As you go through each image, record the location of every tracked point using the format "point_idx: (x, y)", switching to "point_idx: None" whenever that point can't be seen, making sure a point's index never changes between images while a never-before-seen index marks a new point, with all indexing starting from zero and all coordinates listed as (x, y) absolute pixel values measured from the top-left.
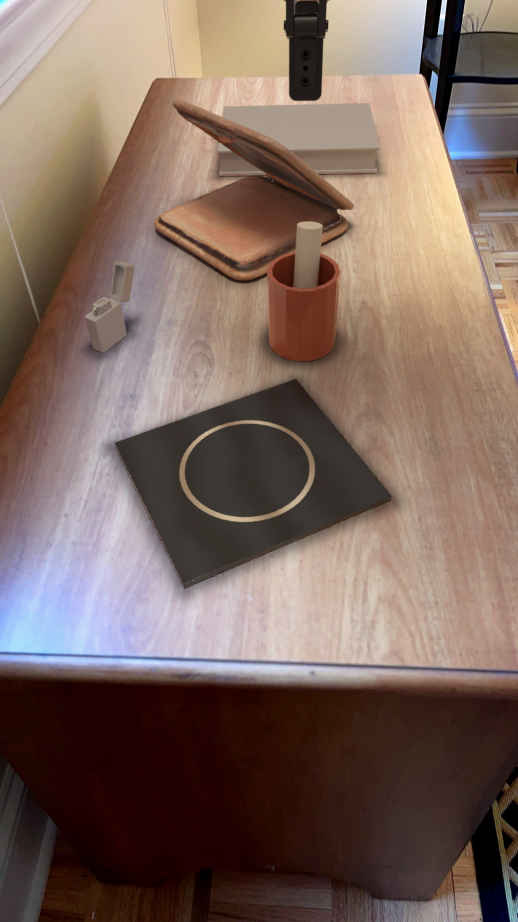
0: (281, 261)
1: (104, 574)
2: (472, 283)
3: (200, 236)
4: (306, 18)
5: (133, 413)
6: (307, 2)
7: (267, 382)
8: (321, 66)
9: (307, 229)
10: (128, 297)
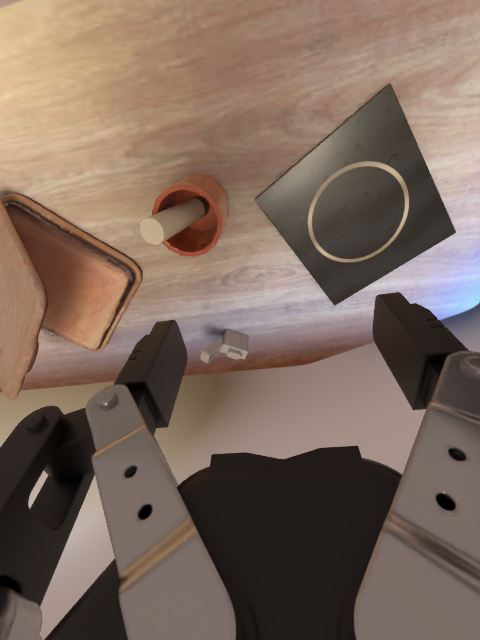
0: (175, 246)
1: (435, 278)
2: (35, 11)
3: (106, 316)
4: None
5: (302, 302)
6: (159, 405)
7: (258, 222)
8: (424, 320)
9: (164, 232)
10: (216, 341)
